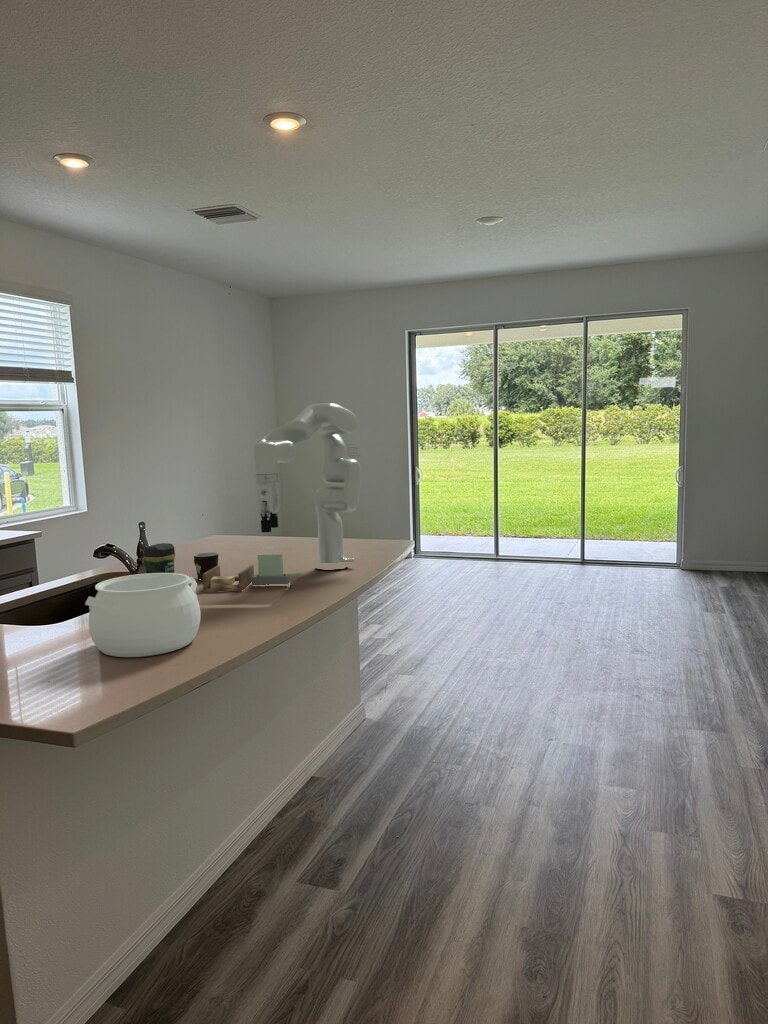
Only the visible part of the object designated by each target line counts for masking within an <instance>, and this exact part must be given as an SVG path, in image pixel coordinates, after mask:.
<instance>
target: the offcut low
mask: <svg viewBox="0 0 768 1024" xmlns="http://www.w3.org/2000/svg"><path fill="white" fill-rule="evenodd" d="M211 588H239V582H234V583H233V584H232V585H211Z"/></svg>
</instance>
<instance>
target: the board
mask: <svg viewBox="0 0 768 1024" xmlns="http://www.w3.org/2000/svg"><path fill="white" fill-rule="evenodd" d="M283 560H284V559H283V553H280V552H279V553H258V554H257V568H258V574H259V577H264V576H283V574H284V563H283Z"/></svg>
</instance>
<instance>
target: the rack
mask: <svg viewBox="0 0 768 1024" xmlns="http://www.w3.org/2000/svg"><path fill="white" fill-rule="evenodd" d="M254 568H255V567H254V565H253V564H251V565H249V566H247V567H246V568H244V569H242V571H241V572H239V573H237V575H238V576H235V581H239V588H211V579H212V578H213V577H219V576H221V566H220V565H218V566H216V567H214V568H212V569H211V570H209V571H207V572H205V573H204V574H202V575H203V581H202V588H203V589H202V590H203V591H202V592H203V593H218V592H217V591H242V590H244V589H245V588H246V587H247V586H248V585H249V584H250V583H251V582H252V577H253V576H254V575H255V570H254ZM245 590H246V589H245ZM245 590H244V591H245Z"/></svg>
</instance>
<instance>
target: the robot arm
mask: <svg viewBox="0 0 768 1024" xmlns="http://www.w3.org/2000/svg"><path fill="white" fill-rule="evenodd" d="M357 418H358V417H357V416H356V415H355V413H354V412H353V411H351V410H349V409H347V408H346V407H344V406H341V405H339V404H337V403H332V402H327V403H325V402H324V403H312V404H309V405H308V406H306V407H305V408H304V409H303V410H302V411H301V412H300V413H299V414H298V415H297V416H296V417H295V418H294V419H292V421H290V422H288V423H285V424H284V425H281V426H280V427H279V426H278V427H277V428H275V429H273V430H271V431H270V432H268V433H267V434H266V435H265V436H264V437H262V438H261V440H259V442H256V443H254V445H253V460H254V463H253V464H254V473H255V475H254V476H255V485H258V507H259V508H258V509H259V513H260V527H261V528H260V530H261V531H260V532H261V533H271V532H272V528H274V529H275V528H278V527H279V518H278V516H279V515H278V512H279V511H280V509H281V508H280V506H281V505H280V496H279V487H278V484H279V468H278V465H279V463H290V462H292V461H293V460H294V459H295V458H296V456H297V451H298V450H297V447H296V445H298V444H301V443H303V442H306V441H308V440H309V439H310V438H311V437H312V436H313V435H315V433H316V431H317V433H318V434H319V435H320V438H321V440H322V442H323V456H322V457H323V458H322V464H321V479H322V480H323V482H324V483H326V484H331V485H332V484H335V485H337V484H338V485H340V484H341V485H343V484H344V485H343V486H321V487H320V488H318V489H317V490H316V491H315V493H314V494H313V502H314V507H315V511H316V517H317V518H316V519H317V540H318V541H317V542H318V543H317V544H318V563H319V562H320V563H338V562H355V563H356V560H355V559H356V558H353V557H352V558H351V557H348V558H347V557H346V555H345V554H344V535H343V533H344V531H343V528H344V527H343V521H342V518H341V516H340V514H339V513H351V512H352V513H353V512H354V511H356V509H357V508H358V506H359V501H360V495H361V486H362V477H363V470H362V466H361V464H360V462H359V461H358V460H356V459H355V458H354V459H353V458H346V454H347V453H346V452H347V447H346V443H345V441H344V440H343V438H342V437H341V435H350V434H353V433H355V432H356V430H357V428H358V419H357Z"/></svg>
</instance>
